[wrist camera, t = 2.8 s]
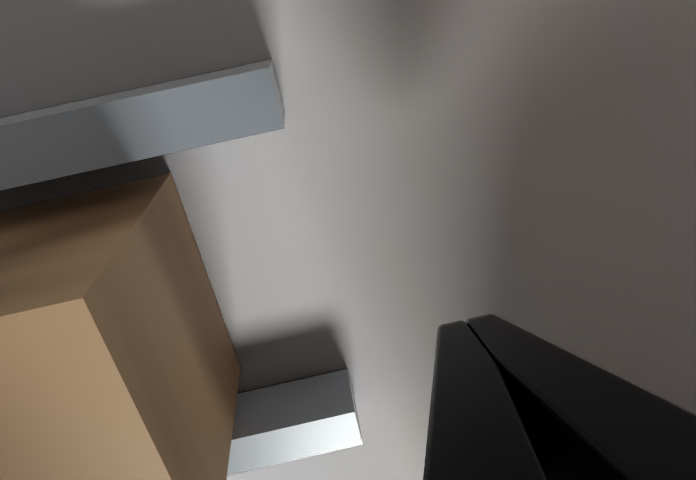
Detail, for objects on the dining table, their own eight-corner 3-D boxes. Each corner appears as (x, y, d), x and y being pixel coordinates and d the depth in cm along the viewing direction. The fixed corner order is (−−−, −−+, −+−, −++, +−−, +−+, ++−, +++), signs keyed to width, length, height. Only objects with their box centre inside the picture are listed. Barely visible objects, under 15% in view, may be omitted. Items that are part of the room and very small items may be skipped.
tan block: (171, 171, 10) (82, 298, 6) (240, 365, 13) (214, 569, 8) (-73, 226, 10) (-356, 396, 6) (37, 412, 12) (-105, 643, 8)
